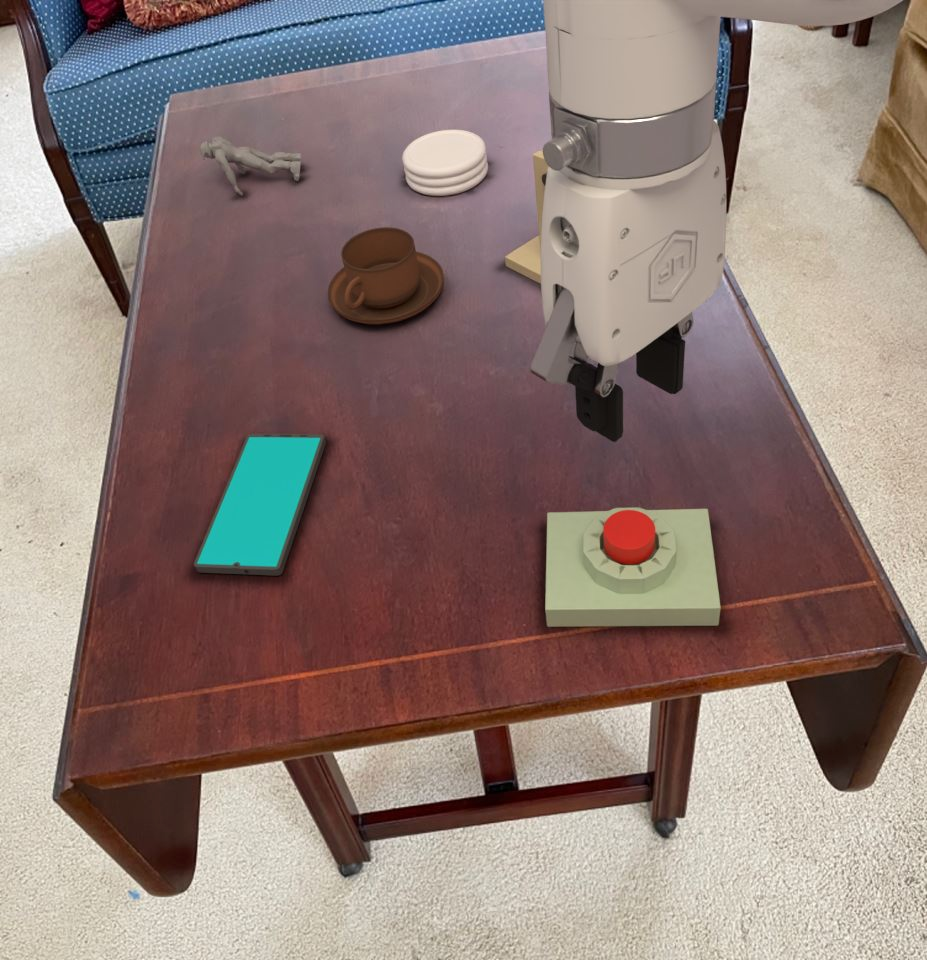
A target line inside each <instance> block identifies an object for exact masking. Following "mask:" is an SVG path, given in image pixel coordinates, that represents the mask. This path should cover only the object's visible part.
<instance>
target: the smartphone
mask: <svg viewBox="0 0 927 960" xmlns="http://www.w3.org/2000/svg"><path fill="white" fill-rule="evenodd" d="M326 444H327V441H326V438H325V435H324V434H322V433H249V434H247V435H246V437H245V439H244V442H243V444H242V446H241V449H240V452H239V454H238V456H237V459H236V460H235V463H234V466H233V469H232V470H231V473H230V476H229V477H228V480H227V483H226V485H225V487H224V490H223V493H222V495H221V497H220V499H219V501H218V505H217V506H216V509H215V512H214V513H213V516H212V519H211V521H210V523H209V526H208V528H207V530H206V533H205V535H204V538H203V540H202V543H201V544H200V547H199V550H198V552H197V555H196V557H195V559H194V562H193V566H194V568H195V570H196V572H197V573H201V574H223V575H224V574H225V575H226V574H227V575H228V574H229V575H250V576H251V575H252V576H274V577H275V576H281V575H282V574H283V572H284V569H285V565H286V564H287V561H288V558H289V556H290V552H291V548H292V545H293V542H294V540H295V537H296V533H297V531H298V528H299V525H300V522H301V519H302V515H303V514H304V510H305V507H306V504H307V501H308V499H309V495H310V492H311V489H312V487H313V484H314V480H315V477H316V473H317V471H318V469H319V465H320V462H321V460H322V459H321V458H322V457H323V454H324V451H325V447H326Z"/></svg>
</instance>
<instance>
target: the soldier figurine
mask: <svg viewBox="0 0 927 960" xmlns="http://www.w3.org/2000/svg"><path fill="white" fill-rule="evenodd" d="M210 141H211V142H209V140H204V141H203V142H201V144H200V147H199V151H200V154H201V158H202V160H203V161H205V158H207V159H211V160H212V159H213V160H214V159H215V161H216V162H217V164H218V166H220V167H221V169H222V170H223V172H225V174H226V175H225V176H226V178H227V180H228V181H229V183H230V184H231V185H232V186H233V188H234V191H235V192H236V193H237V194H238V195H240V196H242V197H243V196H244V193H243V192H242V191H241V190H240V188H239V186H238V182H237V177H236V174H235V172H234V170H233V169H232V167H231V165H230V164H235V165H236V167H237V170H238V172H239V173H240V174H242V175H245V174H246V173H247V171H246V170H247V168H250V169H253V170H256V171H259V172H260V171H263V172H264V171H265V172H267V173H270V174H275V173H277V172H278V171H281V170H286V171H288V170H289V171H290V172H291V173H292V174H293V179H294V181H296V182H299V181H300V174H301V164H302V162H301V161H302V160H301V159H302V153H301V152H292V153H291V152H287V153H286V152H283V151H277V152H273V153H272V154H268V153H266V152H264V151H261V150H259V149H257V148H256V149H255V148H253V147H249V146H245V145H244V146H238V147H236V146H234V144H233V143H232V142H230V141H229V140H228V139H225V138H224V137H223V136H221V135H219V136H213V137H212V138H211V139H210Z"/></svg>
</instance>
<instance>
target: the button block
mask: <svg viewBox="0 0 927 960" xmlns="http://www.w3.org/2000/svg"><path fill="white" fill-rule="evenodd" d="M623 510H635V511H639V512H642V513H644V514H646V515H647V516H648V517H649V518H650V519H651V520H652V521H653V523H654V525H655V548H654V551H653V553H652V555H651V556H650V557H649V558H648V559H646V560H645V561H643V562H641V563H637V564H622V563H619V562H616V561H614V560H613V559H611V558H610V557H609V556H608V555H607V553H606V551H605V549H604V538H603V527H604V524H605V522H606V520H607V519H608V518H609V517H610V516H611V515H613V514H614V513H616V512H619V511H623ZM546 516H547V517H546V553H545V554H546V555H545V556H546V557H545V563H546V564H545V597H544V598H545V599H544V601H545V602H544V610H545V621H546V626H547V627H549V628H552V627H554V628H556V627H557V628H559V627H560V628H561V627H562V628H563V627H566V628H568V627H569V628H570V627H694V626H695V627H703V626H705V627H710V626H715V627H716V626H719V625H720V617H721V598H720V592H719V591H720V590H719V584H718V577H717V576H718V575H717V569H716V568H717V567H716V561H715V553H714V544H713V537H712V529H711V522H710V515H709V509H708V508H680V509H679V508H678V509H677V508H676V509H645V508H642V507H638V506H636V507H634V506H633V507H614V508H612V509H610V510H598V511H597V510H595V511H593V510H592V511H557V512H555V511H553V512H550V511H549V512H547V513H546Z"/></svg>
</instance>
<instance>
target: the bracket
mask: <svg viewBox="0 0 927 960" xmlns="http://www.w3.org/2000/svg"><path fill="white" fill-rule="evenodd" d="M532 159H533V160H532V162H533V172H534V173H533V174H534V175H533V176H534V187H535V189H534V190H535V202H536V213H537V226H538V235H537V236H535V237H533V238H532V239H530V240H528V241H526V242H525V243H524V244H522V245H521V246H519V247H518V248H516V249H515V250H513V251H511V252H510V253H508V254H507V255H505V256H504V262H505V266H506V267H507V268H509V269H511V270H513V271H515V272H517V273H518V274H520V275H522V276H524V277H526V278H528V279H529V280H532V281H533V282H536V283H537V284H540V285H541V228H542V212H543V202H544V192H545V185H546V178H547V170H548V168H549V166H548V165H547V163H546V161H545V159H544V156H543V150H538V151H536V152H534V153H533V154H532Z"/></svg>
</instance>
